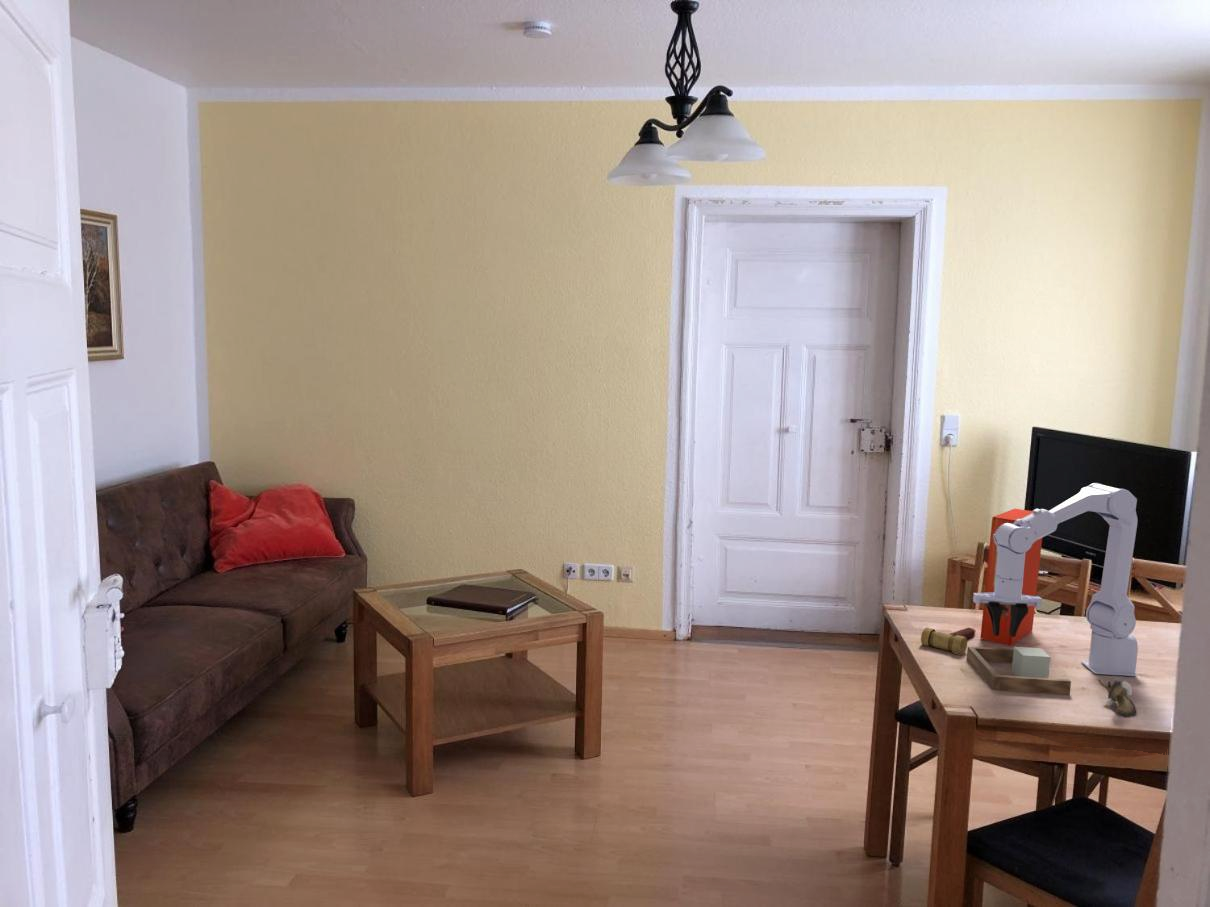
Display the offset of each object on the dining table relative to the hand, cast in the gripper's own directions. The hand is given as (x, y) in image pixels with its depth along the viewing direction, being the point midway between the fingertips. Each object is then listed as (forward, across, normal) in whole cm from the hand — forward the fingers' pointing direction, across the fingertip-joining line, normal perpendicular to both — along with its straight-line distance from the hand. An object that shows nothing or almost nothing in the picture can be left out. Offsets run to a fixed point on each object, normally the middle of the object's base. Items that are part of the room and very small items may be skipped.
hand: (1004, 635), depth 219 cm
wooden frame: (+9, -4, 0) cm, 10 cm away
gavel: (+10, +3, -23) cm, 25 cm away
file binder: (+10, -12, -31) cm, 34 cm away
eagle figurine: (+10, -18, +17) cm, 27 cm away
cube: (+10, -6, 0) cm, 12 cm away
